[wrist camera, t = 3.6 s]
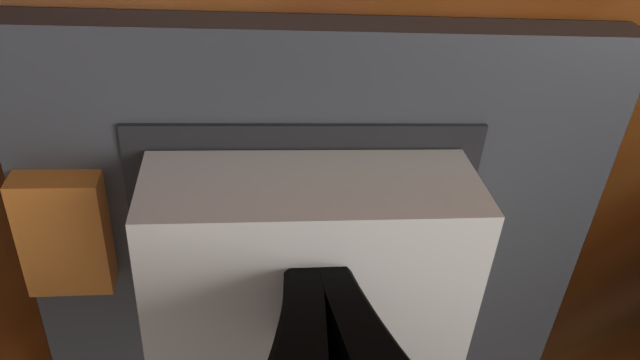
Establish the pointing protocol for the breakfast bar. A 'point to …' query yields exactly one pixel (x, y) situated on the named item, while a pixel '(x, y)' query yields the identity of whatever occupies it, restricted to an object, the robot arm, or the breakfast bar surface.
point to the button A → (307, 244)
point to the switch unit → (302, 136)
